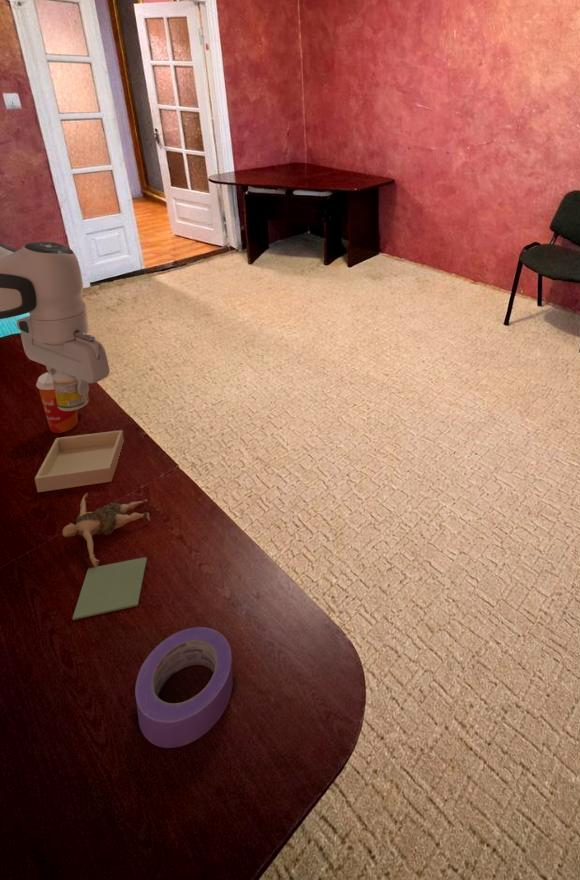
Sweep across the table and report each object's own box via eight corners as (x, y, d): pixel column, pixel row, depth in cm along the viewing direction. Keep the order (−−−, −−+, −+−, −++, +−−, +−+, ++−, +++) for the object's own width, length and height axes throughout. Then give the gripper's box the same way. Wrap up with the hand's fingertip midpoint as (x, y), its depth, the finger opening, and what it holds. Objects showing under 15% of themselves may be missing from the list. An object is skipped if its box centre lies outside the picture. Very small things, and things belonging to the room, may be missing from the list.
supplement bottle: (76, 413, 95) (69, 370, 92) (51, 410, 95) (43, 367, 92) (95, 398, 100) (89, 357, 97) (70, 395, 101) (64, 354, 98)
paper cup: (42, 424, 117) (32, 374, 113) (79, 414, 122) (71, 365, 118) (47, 441, 112) (37, 388, 107) (86, 429, 117) (78, 378, 112)
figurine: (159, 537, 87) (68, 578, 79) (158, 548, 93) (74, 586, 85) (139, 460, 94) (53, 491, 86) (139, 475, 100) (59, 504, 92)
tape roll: (218, 634, 73) (216, 610, 72) (245, 708, 65) (244, 682, 63) (131, 683, 66) (127, 658, 65) (148, 772, 58) (144, 746, 56)
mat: (72, 620, 74) (72, 618, 74) (88, 570, 82) (88, 568, 82) (138, 605, 77) (137, 603, 77) (147, 558, 85) (146, 556, 85)
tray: (37, 492, 97) (34, 478, 96) (58, 450, 109) (56, 437, 108) (111, 481, 101) (109, 467, 100) (124, 442, 113) (122, 429, 112)
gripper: (114, 332, 91) (121, 395, 96) (44, 309, 99) (54, 369, 103) (81, 344, 86) (91, 411, 90) (10, 319, 93) (22, 382, 97)
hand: (71, 388), depth 97 cm, fingers closed on supplement bottle, 5 cm apart
